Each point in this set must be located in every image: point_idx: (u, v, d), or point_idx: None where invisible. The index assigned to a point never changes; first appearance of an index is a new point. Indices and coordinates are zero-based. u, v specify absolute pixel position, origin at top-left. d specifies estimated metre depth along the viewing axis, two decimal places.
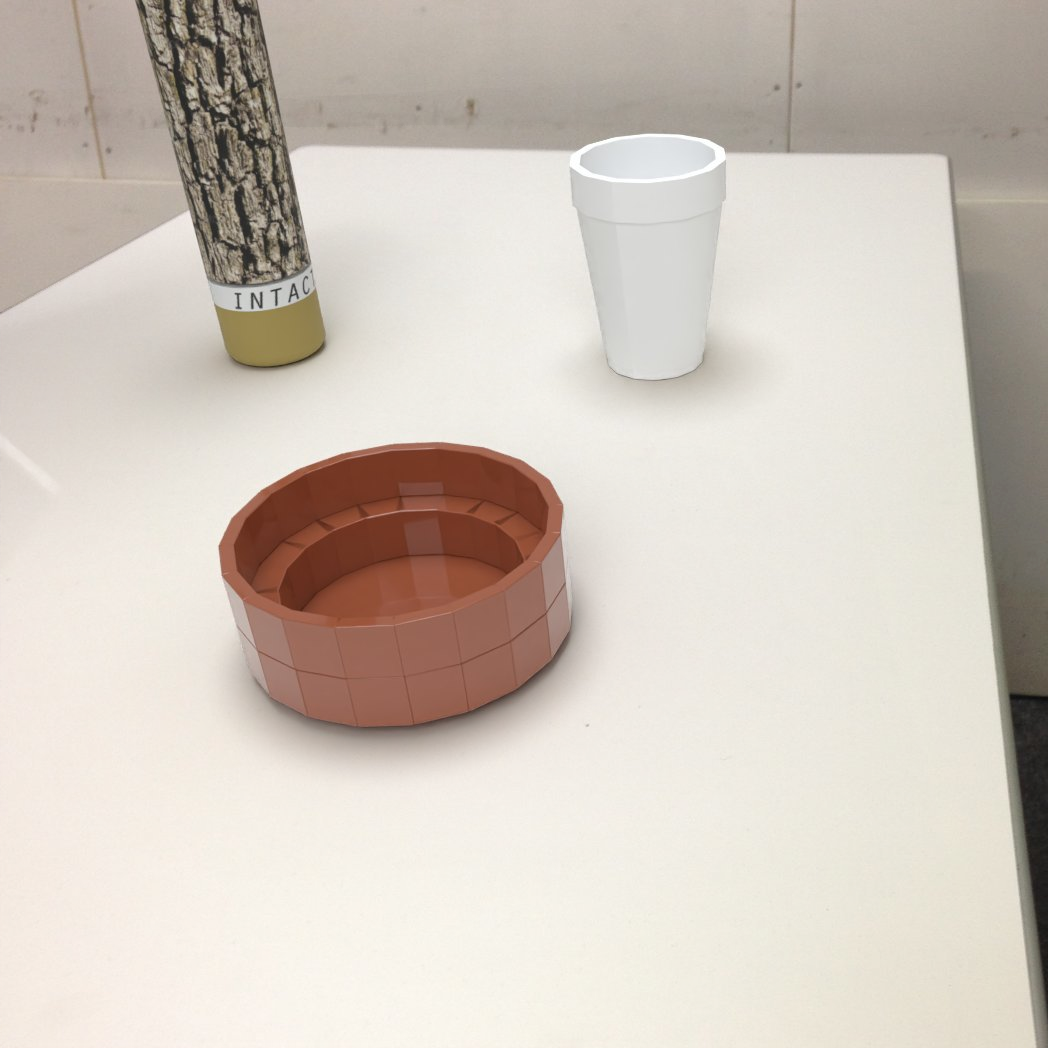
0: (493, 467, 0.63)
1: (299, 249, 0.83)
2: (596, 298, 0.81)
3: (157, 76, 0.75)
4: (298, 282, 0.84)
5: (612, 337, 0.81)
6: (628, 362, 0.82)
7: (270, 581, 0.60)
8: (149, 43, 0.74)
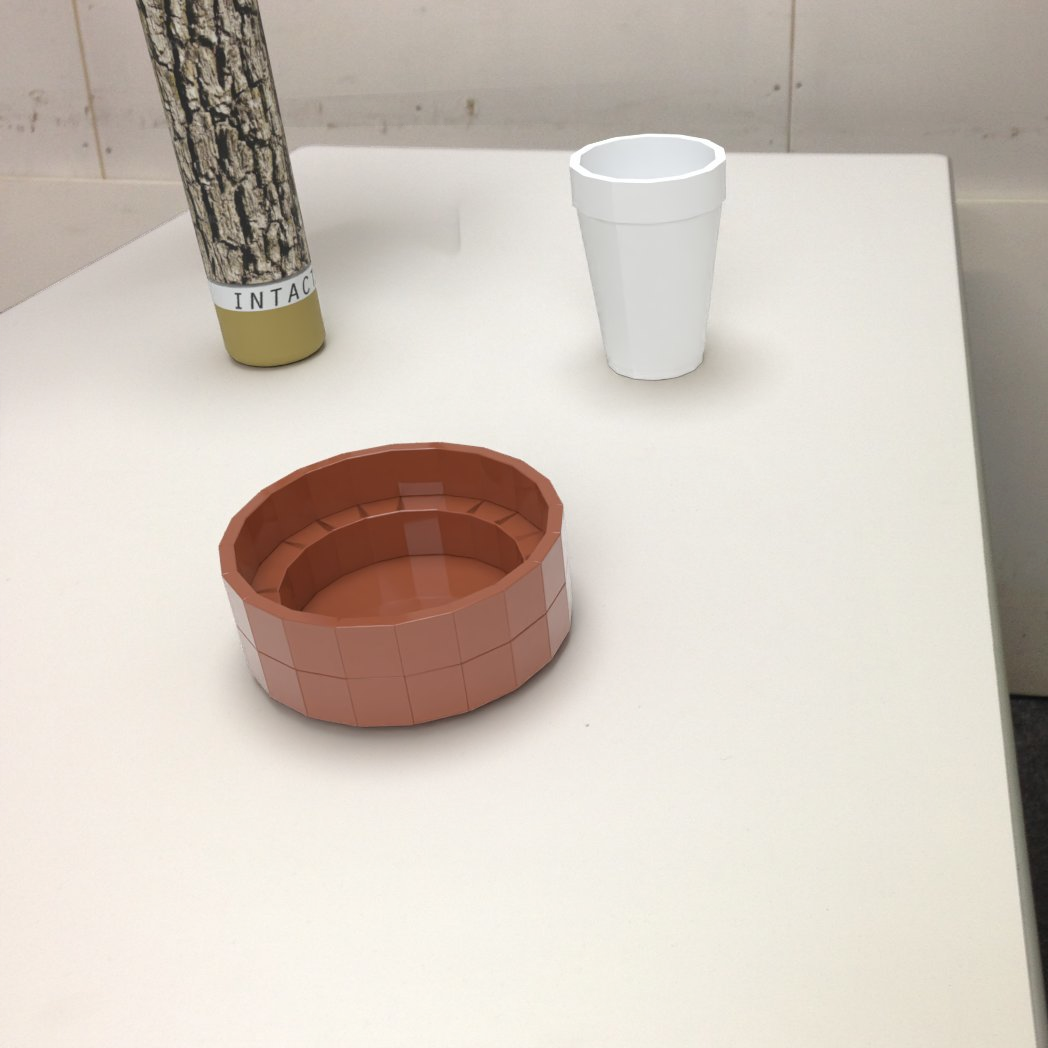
0: (493, 467, 0.63)
1: (299, 249, 0.83)
2: (596, 298, 0.81)
3: (157, 76, 0.75)
4: (298, 282, 0.84)
5: (612, 337, 0.81)
6: (628, 362, 0.82)
7: (270, 581, 0.60)
8: (149, 43, 0.74)
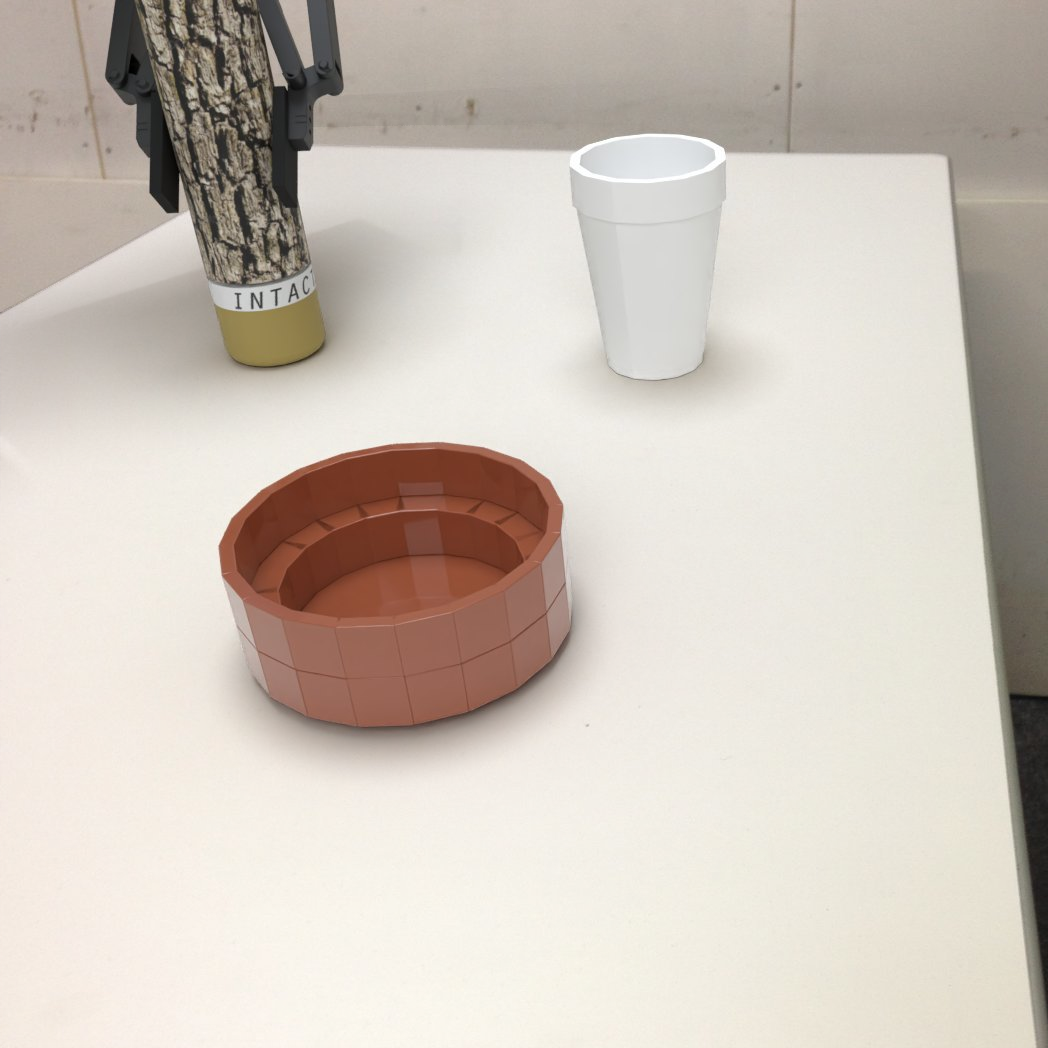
0: (493, 467, 0.63)
1: (299, 249, 0.83)
2: (596, 298, 0.81)
3: (157, 76, 0.75)
4: (298, 282, 0.84)
5: (612, 337, 0.81)
6: (628, 362, 0.82)
7: (270, 581, 0.60)
8: (149, 43, 0.74)
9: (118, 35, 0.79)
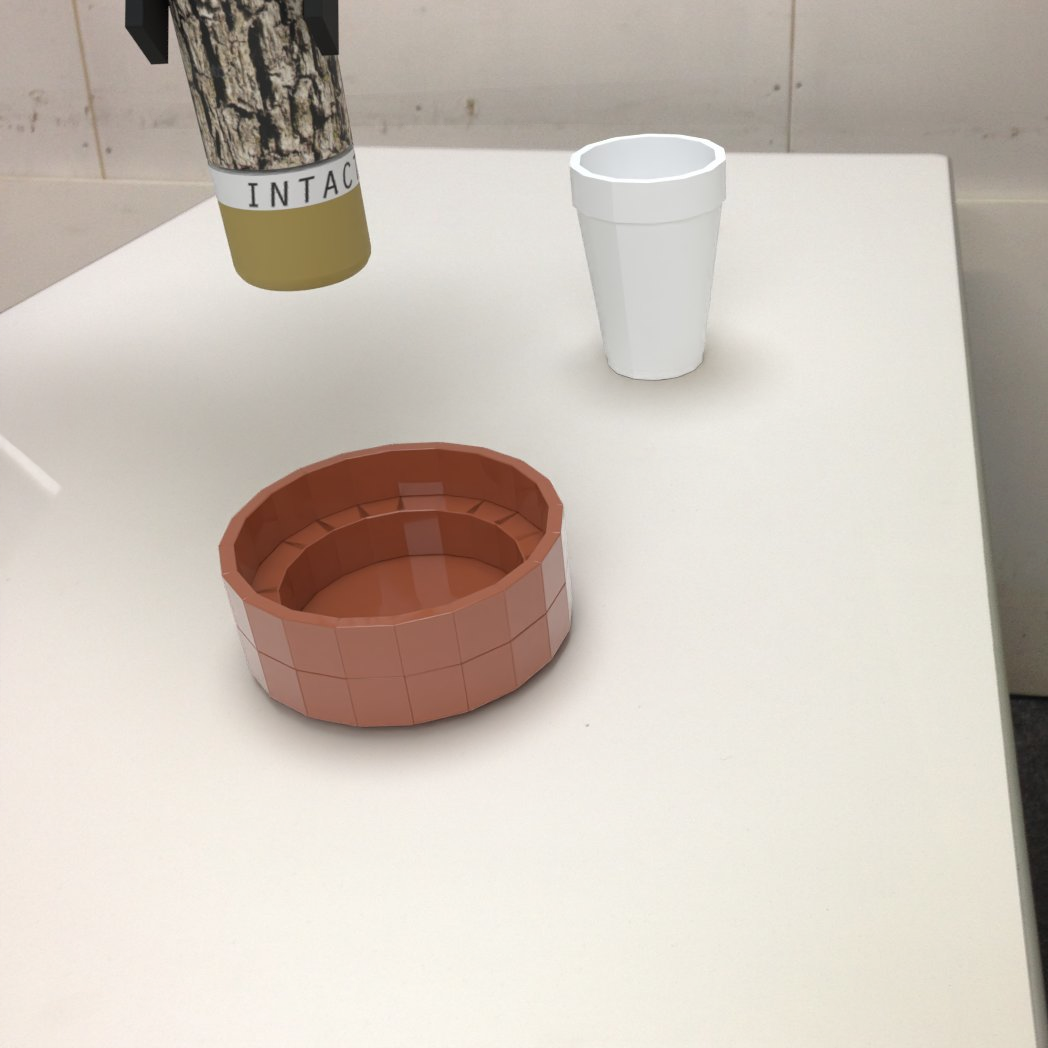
0: (493, 467, 0.63)
1: (339, 122, 0.59)
2: (596, 298, 0.81)
3: None
4: (338, 170, 0.59)
5: (612, 337, 0.81)
6: (628, 362, 0.82)
7: (270, 581, 0.60)
8: None
9: None
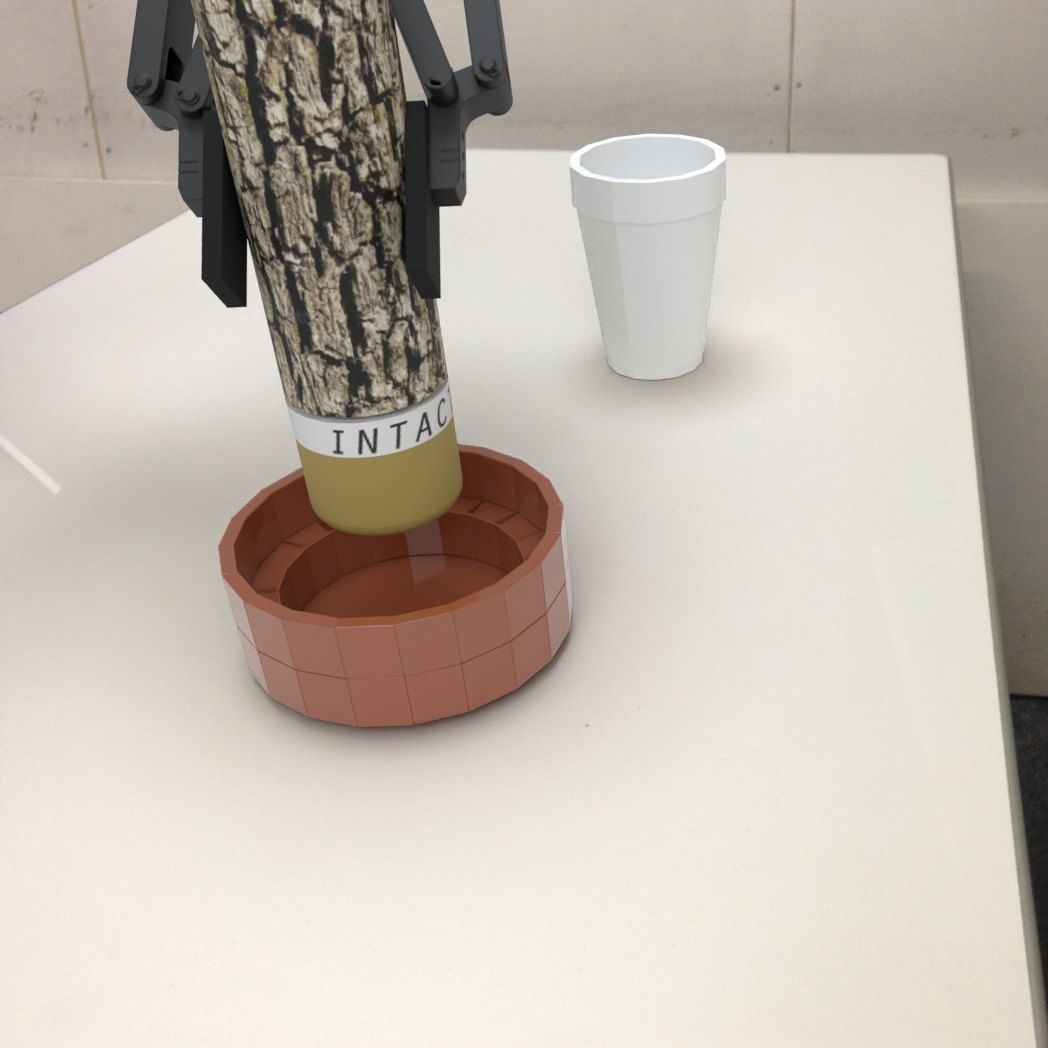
0: (493, 467, 0.63)
1: (435, 359, 0.52)
2: (596, 298, 0.81)
3: (216, 85, 0.45)
4: (432, 410, 0.53)
5: (612, 337, 0.81)
6: (628, 362, 0.82)
7: (270, 581, 0.60)
8: (204, 28, 0.44)
9: (148, 16, 0.48)
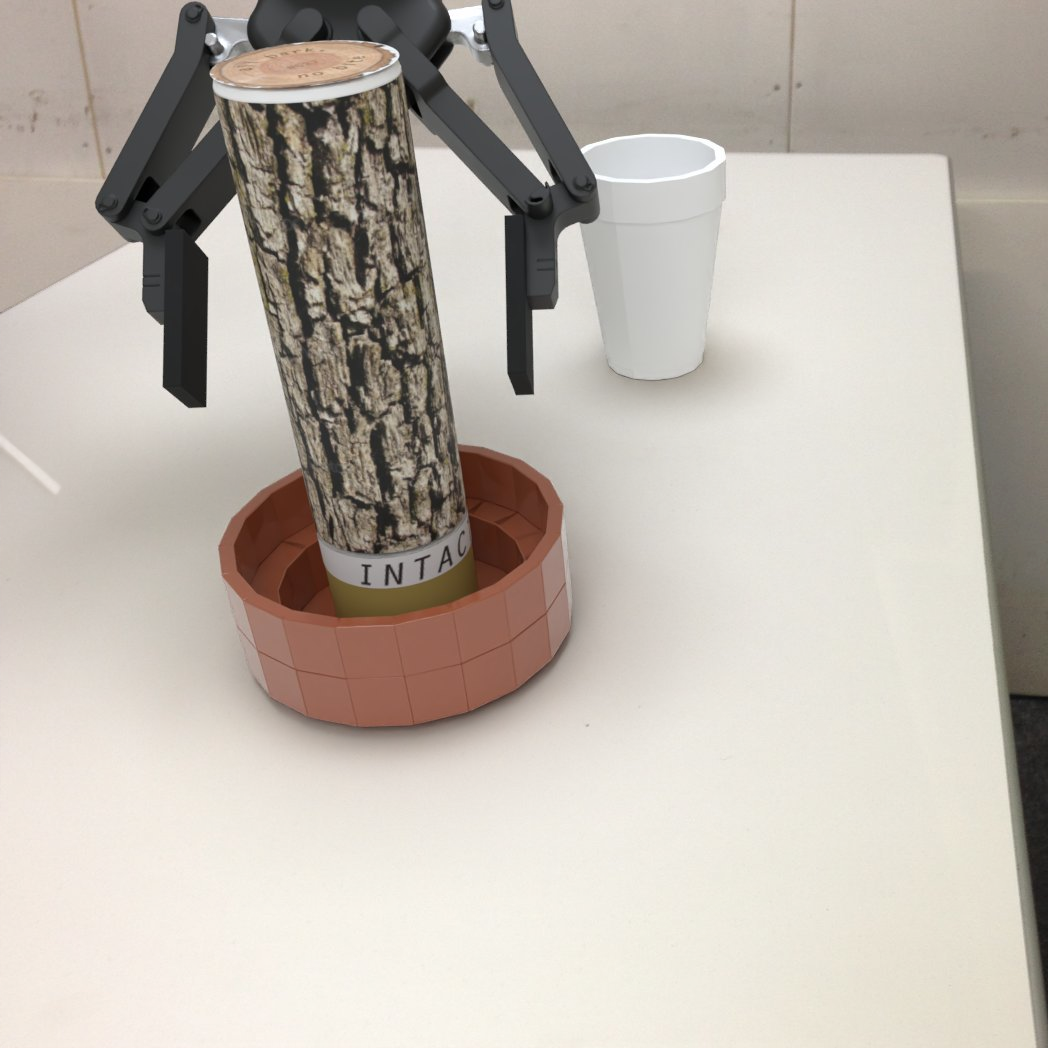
0: (493, 467, 0.63)
1: (456, 497, 0.56)
2: (596, 298, 0.81)
3: (259, 266, 0.49)
4: (453, 543, 0.57)
5: (612, 337, 0.81)
6: (628, 362, 0.82)
7: (270, 581, 0.60)
8: (249, 218, 0.48)
9: (137, 145, 0.52)
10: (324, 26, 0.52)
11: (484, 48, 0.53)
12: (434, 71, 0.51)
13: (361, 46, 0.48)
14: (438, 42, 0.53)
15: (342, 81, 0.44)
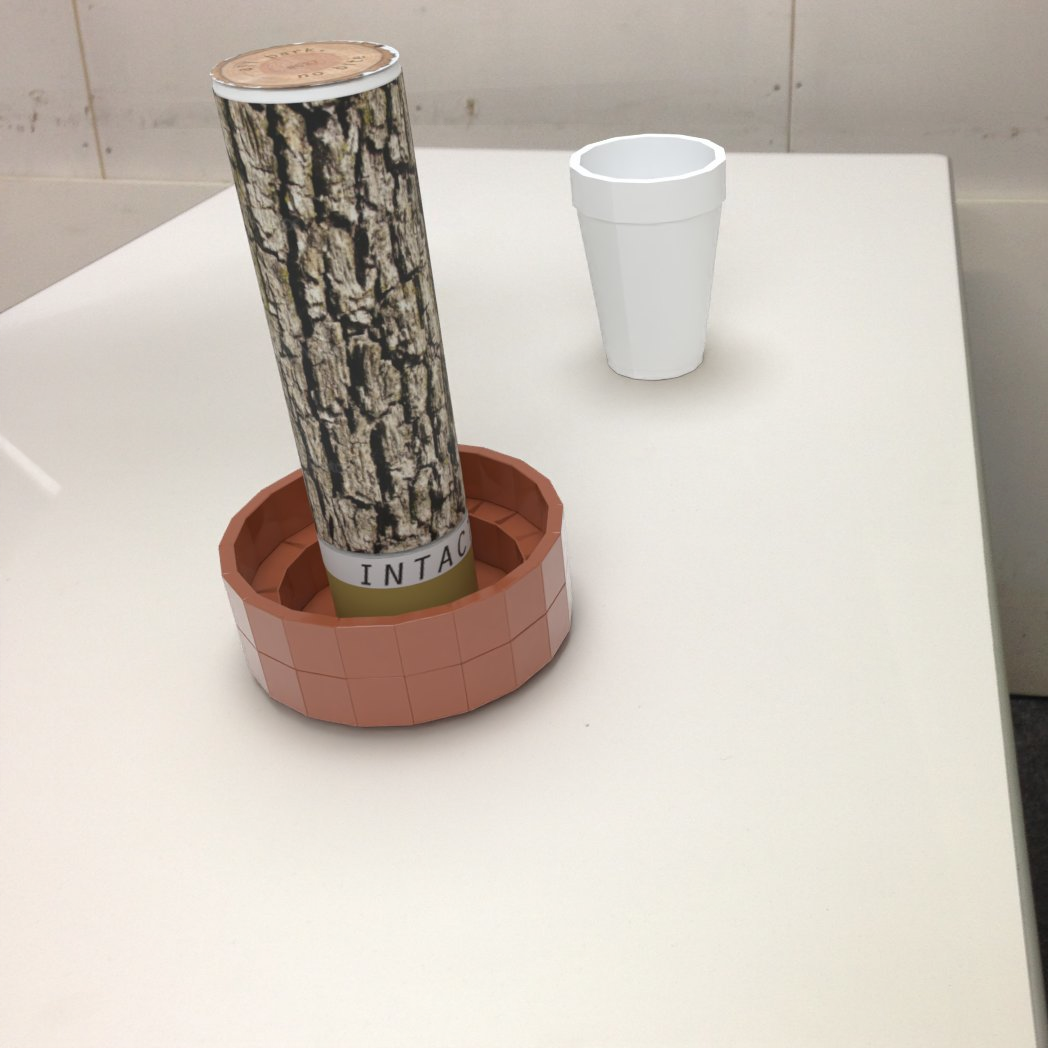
0: (493, 467, 0.63)
1: (456, 497, 0.56)
2: (596, 298, 0.81)
3: (259, 266, 0.49)
4: (453, 543, 0.57)
5: (612, 337, 0.81)
6: (628, 362, 0.82)
7: (270, 581, 0.60)
8: (249, 218, 0.48)
9: None
10: None
11: None
12: None
13: (361, 46, 0.48)
14: None
15: (342, 81, 0.44)
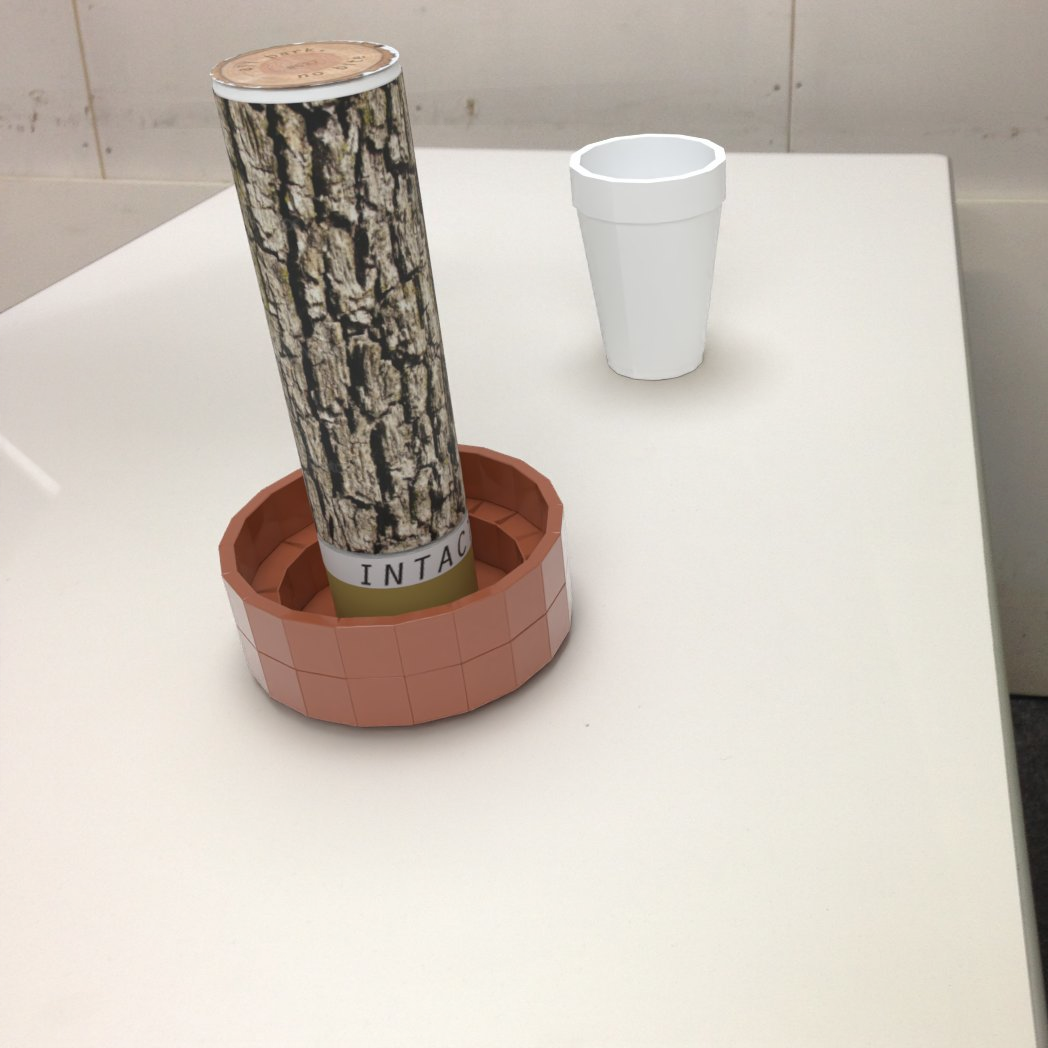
0: (493, 467, 0.63)
1: (456, 497, 0.56)
2: (596, 298, 0.81)
3: (259, 266, 0.49)
4: (453, 543, 0.57)
5: (612, 337, 0.81)
6: (628, 362, 0.82)
7: (270, 581, 0.60)
8: (249, 218, 0.48)
9: None
10: None
11: None
12: None
13: (361, 46, 0.48)
14: None
15: (342, 81, 0.44)
